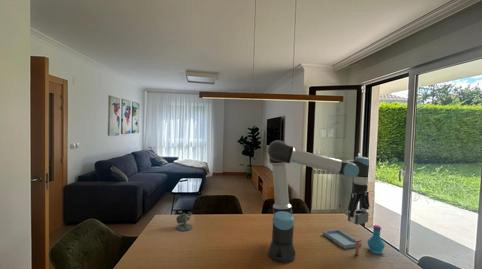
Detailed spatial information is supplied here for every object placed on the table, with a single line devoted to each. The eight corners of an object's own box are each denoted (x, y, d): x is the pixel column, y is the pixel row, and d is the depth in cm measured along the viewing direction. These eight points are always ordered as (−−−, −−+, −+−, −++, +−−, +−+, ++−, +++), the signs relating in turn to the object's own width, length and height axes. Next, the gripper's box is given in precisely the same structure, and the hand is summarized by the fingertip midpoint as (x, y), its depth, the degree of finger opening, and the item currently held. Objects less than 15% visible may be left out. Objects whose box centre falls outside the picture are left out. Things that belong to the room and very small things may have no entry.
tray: (344, 249, 147) (344, 245, 147) (322, 234, 166) (323, 231, 166) (360, 246, 152) (361, 242, 152) (337, 232, 171) (338, 229, 170)
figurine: (186, 232, 160) (186, 214, 160) (172, 229, 164) (173, 211, 164) (195, 226, 170) (195, 209, 169) (182, 223, 174) (182, 207, 173)
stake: (356, 255, 140) (357, 241, 140) (353, 254, 142) (354, 239, 142) (361, 254, 142) (362, 240, 141) (358, 253, 143) (359, 238, 143)
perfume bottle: (384, 256, 141) (385, 231, 140) (366, 251, 146) (367, 226, 145) (384, 249, 149) (386, 225, 148) (367, 245, 154) (369, 222, 153)
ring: (357, 224, 136) (358, 215, 136) (345, 219, 143) (346, 210, 143) (368, 221, 142) (368, 212, 141) (356, 217, 148) (356, 208, 148)
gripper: (354, 186, 132) (351, 226, 133) (377, 183, 143) (375, 220, 144) (342, 183, 138) (340, 221, 139) (365, 180, 150) (363, 215, 151)
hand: (358, 221), depth 142 cm, fingers closed on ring, 10 cm apart
